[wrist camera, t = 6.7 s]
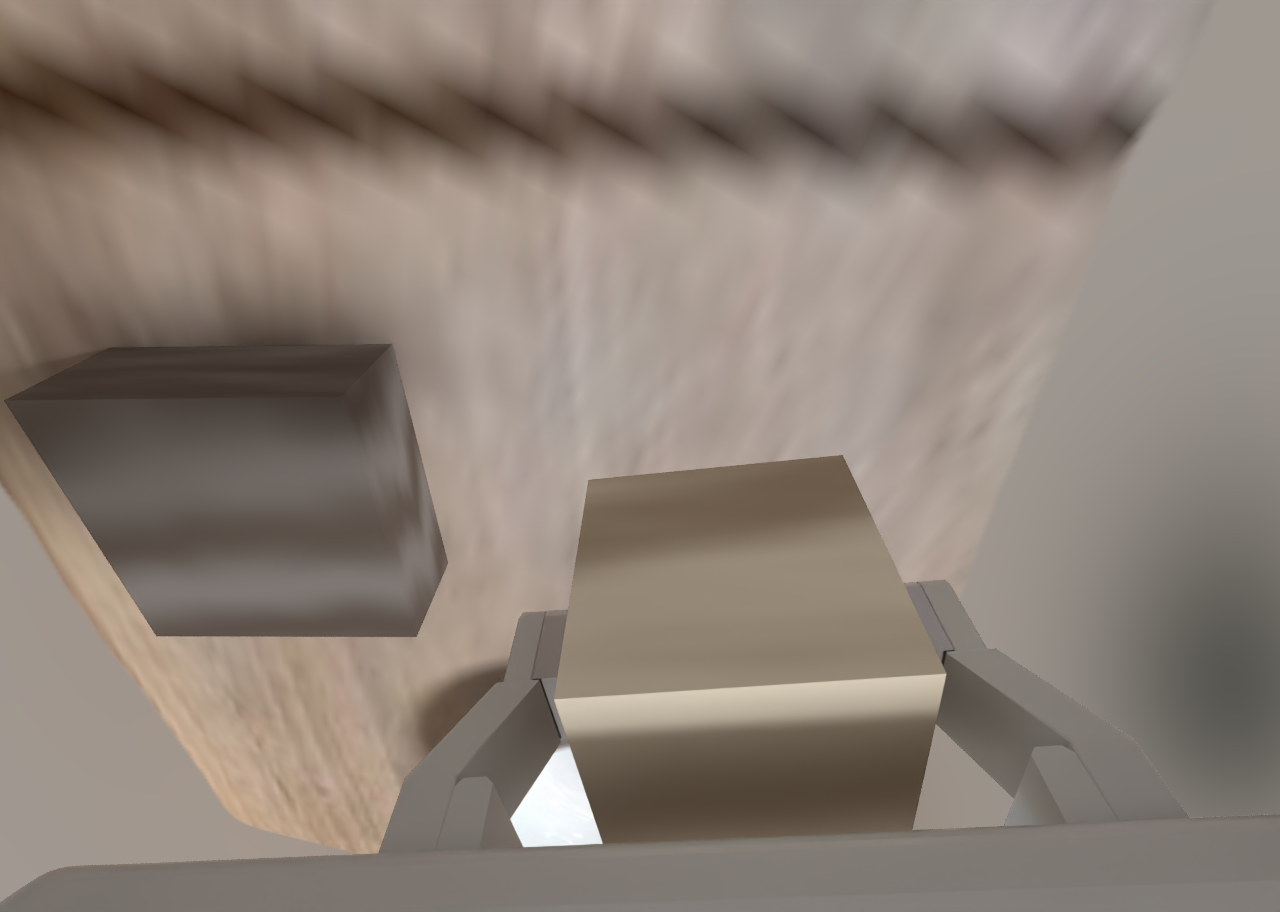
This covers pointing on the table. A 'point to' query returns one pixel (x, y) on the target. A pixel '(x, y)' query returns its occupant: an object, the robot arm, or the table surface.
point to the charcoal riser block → (247, 486)
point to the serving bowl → (556, 806)
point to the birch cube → (743, 658)
